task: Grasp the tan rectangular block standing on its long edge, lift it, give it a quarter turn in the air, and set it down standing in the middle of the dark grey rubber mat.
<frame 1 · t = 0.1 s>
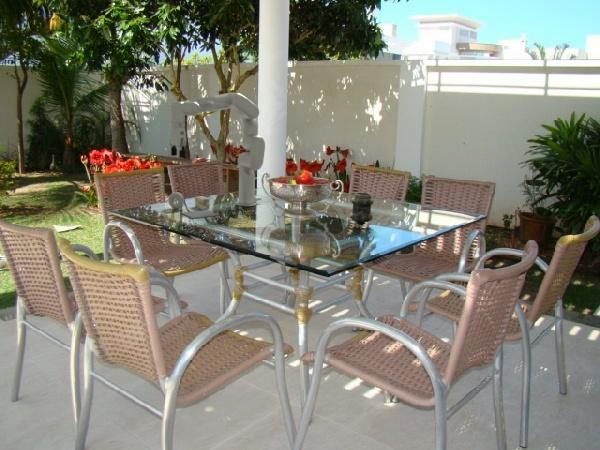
hand: (178, 156, 305), 31 cm above the table, tool pointing down, fingers open, 9 cm apart
tan rectangular block: (202, 207, 326), on the table
apothecary jar: (360, 227, 296), on the table
mat: (200, 214, 307), on the table
donut: (176, 209, 319), on the table
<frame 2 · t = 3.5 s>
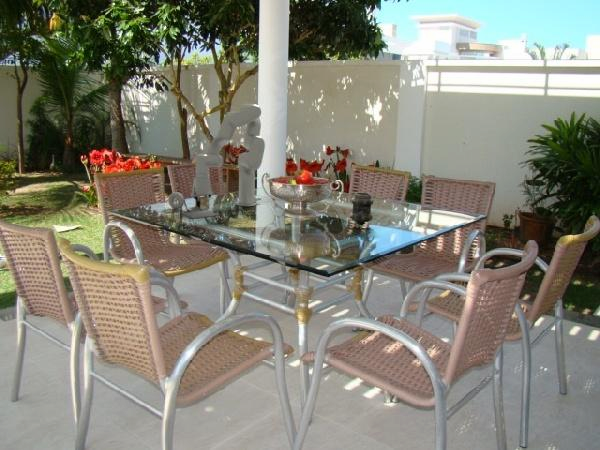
hand: (202, 206, 326), 1 cm above the table, tool pointing down, fingers closed on tan rectangular block, 4 cm apart
tan rectangular block: (202, 207, 326), on the table, touching gripper
everything else where it was.
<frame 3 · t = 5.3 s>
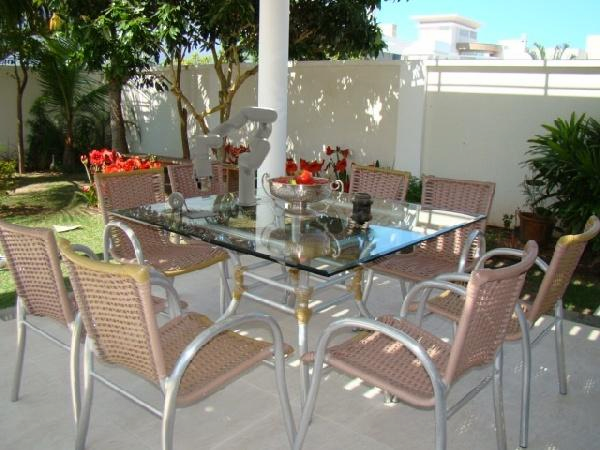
hand: (203, 188, 323), 12 cm above the table, tool pointing down, fingers closed on tan rectangular block, 4 cm apart
tan rectangular block: (203, 189, 323), point 11 cm above the table, touching gripper
everything else where it was.
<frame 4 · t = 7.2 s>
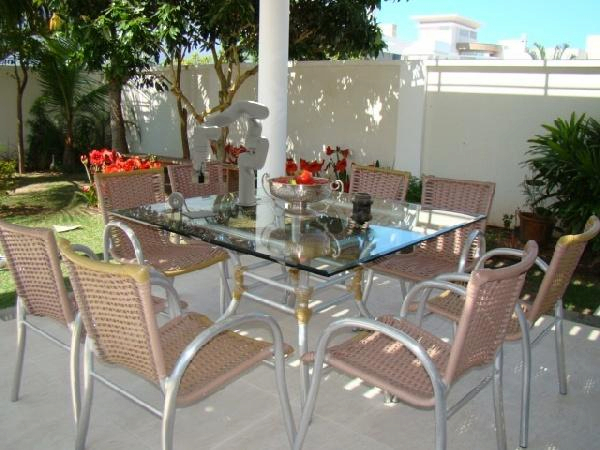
hand: (200, 181, 307), 18 cm above the table, tool pointing down, fingers closed on tan rectangular block, 4 cm apart
tan rectangular block: (200, 183, 307), point 17 cm above the table, touching gripper
everything else where it was.
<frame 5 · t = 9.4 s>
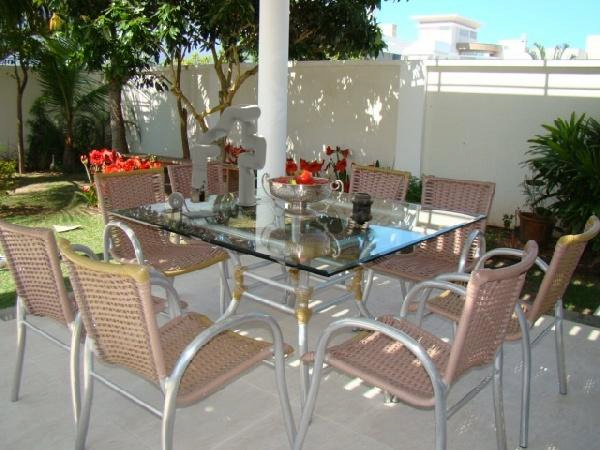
hand: (199, 200, 305), 8 cm above the table, tool pointing down, fingers closed on tan rectangular block, 4 cm apart
tan rectangular block: (199, 201, 305), point 7 cm above the table, touching gripper
everything else where it was.
when the fingers open (3 cm above the table, at t = 11.2 s): tan rectangular block drops 1 cm, resting on mat.
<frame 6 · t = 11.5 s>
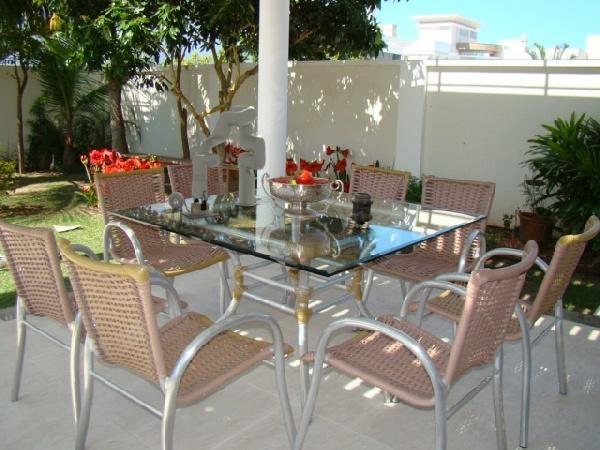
hand: (200, 208, 307), 3 cm above the table, tool pointing down, fingers open, 7 cm apart
tan rectangular block: (200, 213, 307), point 1 cm above the table, touching mat
everything else where it was.
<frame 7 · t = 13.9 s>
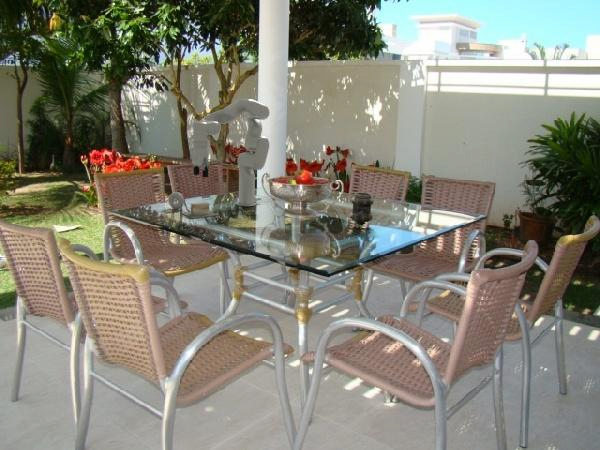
hand: (200, 175, 306), 21 cm above the table, tool pointing down, fingers open, 9 cm apart
nothing on the table moved.
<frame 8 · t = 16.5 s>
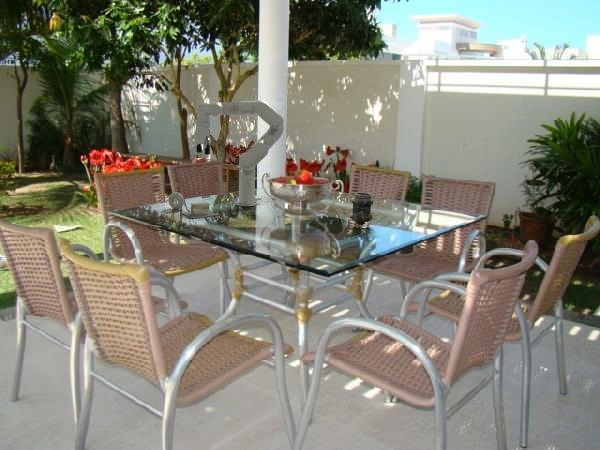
hand: (203, 153, 330), 30 cm above the table, tool pointing down, fingers open, 9 cm apart
nothing on the table moved.
at the end: tan rectangular block inside the target area on the mat (0.0 cm from its centre), point 0.6 cm above the mat's base; tan rectangular block tilted 0°; the gripper is holding nothing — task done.
